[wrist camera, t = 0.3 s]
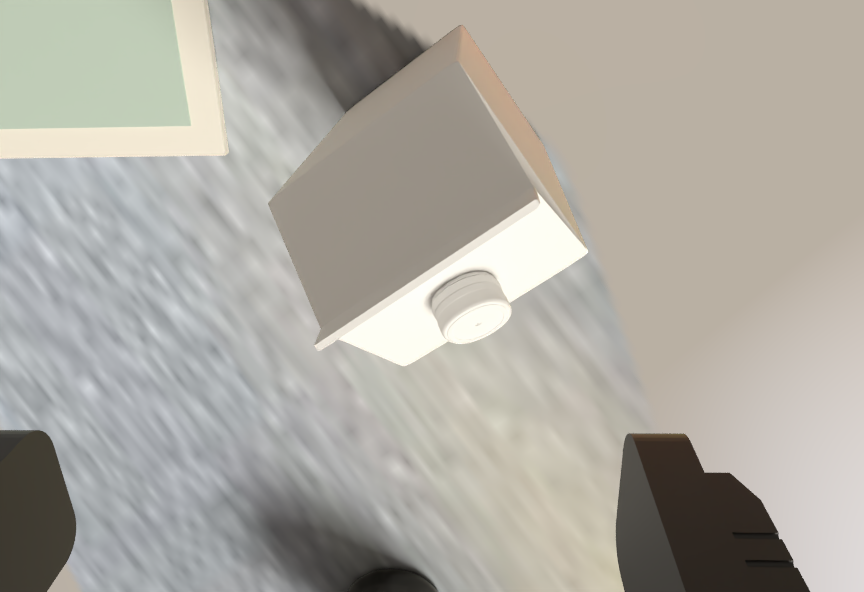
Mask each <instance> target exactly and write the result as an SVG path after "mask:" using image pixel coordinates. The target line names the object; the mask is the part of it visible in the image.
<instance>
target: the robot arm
mask: <svg viewBox="0 0 864 592" xmlns="http://www.w3.org/2000/svg"><path fill="white" fill-rule="evenodd" d="M75 535H76V518H75V514H74V510H73V507H72V504H71V500H70V497H69V494H68V491H67V487H66V484H65V481H64V478H63V474H62V471H61V468H60V465H59V461H58V458H57V455H56V452H55V448H54V445H53V443H52V440H51V439H50V437H49V436H48V435H47V434H46V433H45V432H43V431H40V430H0V592H47V590H48V589H49V587H50V586H51V585H52V583H53V582H54V580H55V579H56V577H57V576H58V574H59V572H60V571H61V570H62V568H63V567H64V565H65V564H66V562H67V560H68V558H69V556H70V554H71V551H72V549H73V545H74V541H75ZM616 547H617V557H618V564H619V569H620V574H621V578H622V582H623V586H624V590H625V592H810V591H809V589H808V587H807V585H806V583H805V581H804V579H803V578H802V576H801V574H800V572H799V570H798V568H794V565H793V559H792V557H791V555H790V553H789V552H788V550H787V548H786V546H785V544H784V542H783V540H782V539H779V537H778V531H777V529H776V527H775V526H774V524H773V522H772V520H771V518H770V516H769V514H768V513H767V511H766V509H765V507H764V505H763V503H762V502H761V500H760V499H759V498H758V497H757V496H755V495H754V494H753V493H752V492H751V491H750V490H749V489H747V488H746V487H745V486H744V485H743V484H742V483H741V482H739V481H738V480H737V479H736V478H735V477H734V476H733V475H732V474H730V473H704V470H703V468H702V466H701V464H700V462H699V459H698V457H697V455H696V453H695V451H694V449H693V446H692V444H691V442H690V440H689V438H688V437H687V436H686V435H685V434H627V436H626V438H625V442H624V448H623V458H622V468H621V478H620V488H619V498H618V509H617V519H616Z"/></svg>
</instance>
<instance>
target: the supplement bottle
mask: <svg viewBox="0 0 864 592" xmlns="http://www.w3.org/2000/svg"><path fill="white" fill-rule="evenodd" d="M347 592H437V590H436V589H435V588H434V587H433V585H432V584H430V583H429V582H428V581H427V580H426V579H424V578H423V577H421V576H419V575H417V574H415V573H412V572H409V571H405V570H400V569H382V570H377V571H373V572H370V573H368V574H366V575H364V576H362V577H361V578H359V579H358V580H357V581H355V582H354V583H353V584H352V586H351V587H350V588H349V590H348V591H347Z"/></svg>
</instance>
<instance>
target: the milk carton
mask: <svg viewBox="0 0 864 592" xmlns="http://www.w3.org/2000/svg"><path fill="white" fill-rule="evenodd" d="M268 205H269V207H270V210H271V212H272V214H273V217H274V219H275V221H276V224H277V226H278V228H279V231H280V233H281V236H282V238H283V240H284V243H285V245H286V247H287V250H288V252H289V254H290V257H291V259H292V262H293V264H294V266H295V269H296V271H297V273H298V276H299V278H300V280H301V283H302V285H303V288H304V290H305V292H306V295H307V297H308V299H309V302H310V304H311V306H312V309H313V311H314V313H315V316H316V318H317V321H318V323H319V325H320V328H321V330H320V333H319V335H318V337H317V340H316V342H315V345H314V347H315V348H316V349H317V350H322V349H324V348H325V347H327V346H329V345H330V344H332V343H333V342H335V341H336V340H338V339H339V340H342V341H344V342H347V343H349V344H351V345H354V346H356V347H358V348H361V349H363V350H366V351H368V352H370V353H373V354H375V355H377V356H380V357H382V358H384V359H387V360H389V361H392V362H394V363H396V364H399V365H401V366H406V365H409V364H411V363H412V362H414V361H416V360H418V359H419V358H421V357H423V356H424V355H426V354H428V353H429V352H431V351H433V350H434V349H436V348H438V347H439V346H441V345H443V344H444V343H446V342H447V341H449V342H452V343H457V344H464V343H470V342H474V341H477V340H479V339H482V338H484V337H486V336H488V335H490V334H491V333H493V332H495V331H496V330H498V329H499V328H500V327H501V326H503V325H504V324H505V323H506V322H507V320H508V319H509V318H510V315H511V306H510V302H512V301H513V300H515V299H516V298H518V297H520V296H521V295H523V294H525V293H526V292H528V291H529V290H531V289H533V288H534V287H536V286H537V285H539V284H541V283H542V282H544V281H546V280H547V279H549V278H550V277H552V276H554V275H555V274H557V273H558V272H560V271H561V270H563V269H565V268H566V267H568V266H569V265H571V264H572V263H574V262H575V261H577V260H578V259H580V258H581V257H583V256H584V255H586V254H587V253H588V252H589V251H588V250H587V247H586V245H585V242H584V240H583V238H582V235H581V233H580V231H579V228H578V226H577V223H576V221H575V219H574V216H573V214H572V212H571V209H570V207H569V204H568V202H567V200H566V197H565V195H564V193H563V190H562V188H561V185H560V183H559V181H558V178H557V176H556V174H555V171H554V169H553V166H552V164H551V162H550V159H549V157H548V155H547V152H546V150H545V147H544V145H543V144H542V142H541V141H540V139H539V138H538V136H537V135H536V133H535V132H534V130H533V129H532V127H531V126H530V124H529V123H528V121H527V120H526V118H525V117H524V115H523V114H522V112H521V111H520V110H519V108H518V106H517V105H516V103H515V102H514V100H513V99H512V97H511V96H510V94H509V93H508V92H507V90H506V88H505V87H504V85H503V84H502V82H501V81H500V79H499V78H498V76H497V75H496V73H495V72H494V70H493V69H492V67H491V66H490V64H489V63H488V61H487V60H486V58H485V57H484V56H483V54H482V53H481V51H480V50H479V48H478V47H477V45H476V44H475V42H474V41H473V39H472V38H471V36H470V35H469V33H468V32H467V30H466V29H465V27H464V26H463V25H460V26H458V27H456V28H455V29H454V30H452V31H451V32H450V33H448V34H447V35H446V36H444V37H443V38H442V39H440V40H439V41H438V42H437V43H435V44H434V45H433V46H431V47H430V48H429V49H427V50H426V51H425V52H423V53H422V54H421V55H420V56H418V57H417V58H416V59H414V60H413V61H412V62H410V63H409V64H408V65H406V66H405V67H404V68H403V69H401V70H400V71H399V72H397V73H396V74H395V75H393V76H392V77H391V78H390V79H388V80H387V81H386V82H384V83H383V84H382V85H380V86H379V87H378V88H377V89H375V90H374V91H373V92H371V93H370V94H369V95H367V96H366V97H365V98H364V99H362V100H361V101H360V102H358V103H357V104H356V105H354V106H353V107H352V108H351V109H350V110H348V111H347V112H346V113H345V114H344V116H343V117H342V118H341V119H340V120H339V121H338V123H337V124H336V125H335V126H334V127H333V128H332V130H331V131H330V132H329V133H328V134H327V135H326V136H325V138H324V139H323V140H322V141H321V142H320V143H319V145H318V146H317V147H316V148H315V149H314V150H313V152H312V153H311V154H310V155H309V156H308V157H307V158H306V160H305V161H304V162H303V163H302V164H301V165H300V167H299V168H298V169H297V170H296V171H295V172H294V174H293V175H292V176H291V177H290V178H289V179H288V181H287V182H286V183H285V184H284V185H283V186H282V187H281V189H280V190H279V191H278V192H277V193H276V194H275V196H274V197H273V198H272V199H271V200H270V201H269V203H268Z"/></svg>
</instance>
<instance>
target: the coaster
mask: <svg viewBox="0 0 864 592" xmlns="http://www.w3.org/2000/svg"><path fill="white" fill-rule="evenodd" d="M228 153H229V148H228V141H227V134H226V127H225V120H224V113H223V106H222V99H221V92H220V85H219V77H218V70H217V63H216V56H215V49H214V42H213V35H212V28H211V21H210V14H209V7H208V0H0V158H70V157H143V156H217V155H227V154H228Z"/></svg>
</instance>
